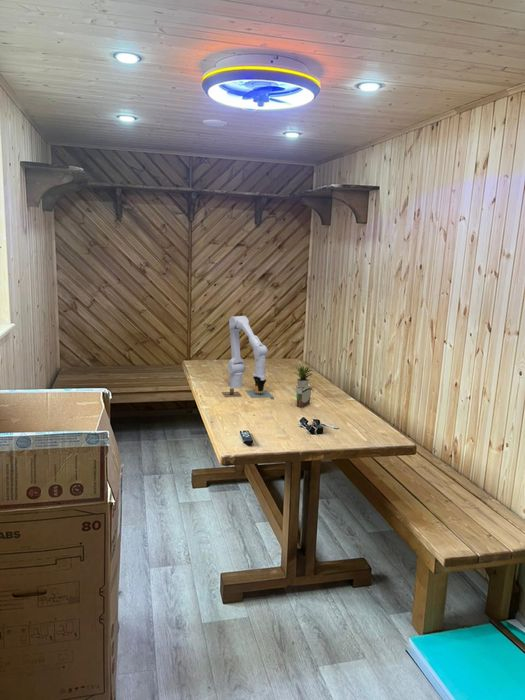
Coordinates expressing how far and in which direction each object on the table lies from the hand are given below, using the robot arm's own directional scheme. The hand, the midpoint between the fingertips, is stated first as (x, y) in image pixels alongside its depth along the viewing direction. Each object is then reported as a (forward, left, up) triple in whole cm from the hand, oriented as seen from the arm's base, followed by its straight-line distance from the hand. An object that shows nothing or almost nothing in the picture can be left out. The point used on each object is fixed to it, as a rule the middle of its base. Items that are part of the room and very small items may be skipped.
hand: (259, 390), depth 313 cm
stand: (0, -16, -3) cm, 16 cm away
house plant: (-11, +30, -4) cm, 32 cm away
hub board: (0, 0, -3) cm, 3 cm away
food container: (+23, +18, -4) cm, 29 cm away
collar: (0, 0, -1) cm, 1 cm away
